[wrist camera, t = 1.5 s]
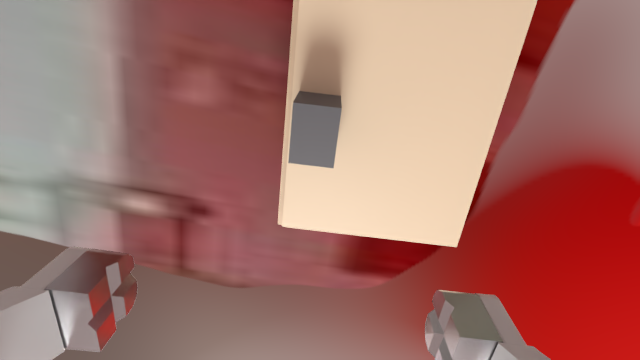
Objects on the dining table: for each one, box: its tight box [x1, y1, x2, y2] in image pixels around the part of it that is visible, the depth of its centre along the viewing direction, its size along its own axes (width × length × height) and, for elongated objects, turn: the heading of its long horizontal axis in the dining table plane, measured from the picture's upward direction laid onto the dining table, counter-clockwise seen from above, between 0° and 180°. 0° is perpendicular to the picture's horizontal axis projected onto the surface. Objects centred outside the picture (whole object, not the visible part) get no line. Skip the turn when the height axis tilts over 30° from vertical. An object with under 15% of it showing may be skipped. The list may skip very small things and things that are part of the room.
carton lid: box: [282, 0, 537, 247], centre depth 24 cm, size 19×15×5 cm
